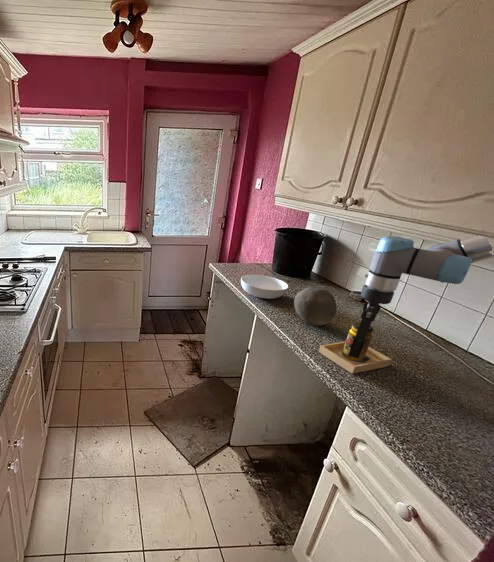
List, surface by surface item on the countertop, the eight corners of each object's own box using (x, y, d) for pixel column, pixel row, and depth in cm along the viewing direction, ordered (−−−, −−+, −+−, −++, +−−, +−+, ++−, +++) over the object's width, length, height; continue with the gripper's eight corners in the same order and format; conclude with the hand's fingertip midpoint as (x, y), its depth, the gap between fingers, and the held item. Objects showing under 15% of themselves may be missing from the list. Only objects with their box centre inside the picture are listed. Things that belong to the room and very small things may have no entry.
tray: (353, 345, 111) (355, 339, 110) (389, 365, 100) (392, 359, 99) (318, 351, 107) (320, 345, 106) (352, 373, 96) (354, 367, 95)
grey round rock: (319, 316, 132) (329, 283, 126) (337, 333, 119) (349, 297, 113) (284, 313, 133) (293, 281, 127) (299, 330, 120) (309, 295, 114)
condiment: (336, 354, 104) (346, 323, 100) (347, 347, 109) (358, 317, 104) (361, 366, 99) (373, 333, 94) (371, 358, 103) (384, 326, 99)
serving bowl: (294, 304, 142) (297, 290, 140) (248, 303, 142) (251, 289, 139) (272, 287, 162) (275, 274, 159) (232, 286, 161) (234, 273, 158)
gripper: (368, 277, 103) (347, 337, 112) (359, 292, 90) (335, 359, 98) (397, 283, 98) (372, 345, 107) (392, 300, 85) (364, 370, 94)
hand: (355, 352), depth 103 cm, fingers open, 6 cm apart
